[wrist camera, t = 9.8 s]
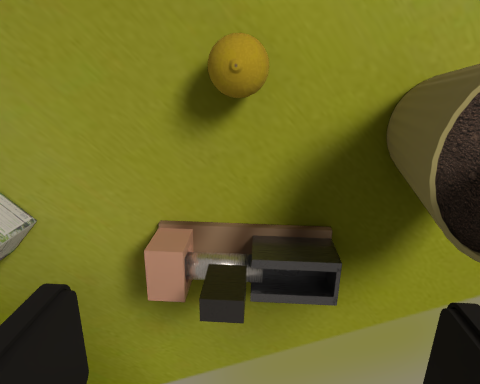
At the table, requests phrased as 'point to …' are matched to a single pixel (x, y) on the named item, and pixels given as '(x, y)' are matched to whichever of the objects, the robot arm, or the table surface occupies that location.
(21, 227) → the syrup box
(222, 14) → the table surface
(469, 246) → the potted cactus
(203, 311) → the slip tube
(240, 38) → the lemon
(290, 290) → the dark grey open box
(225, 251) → the base board
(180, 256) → the socket block
